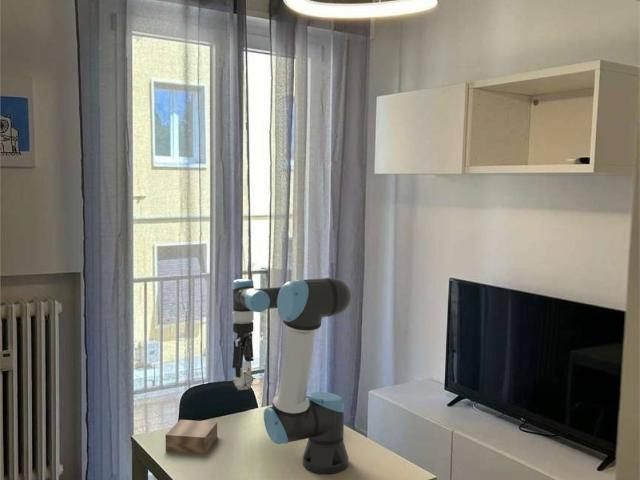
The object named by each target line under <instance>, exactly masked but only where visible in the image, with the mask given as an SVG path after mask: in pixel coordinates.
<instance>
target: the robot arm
mask: <svg viewBox="0 0 640 480" xmlns="http://www.w3.org/2000/svg"><path fill="white" fill-rule="evenodd" d="M254 287H255V286H254V281H253V280H252V279H249V278H248V279H247V278H241V279H235V280H233V282H232V312H231V314H232V321H233V322H232V332H233V333H235V334H237V335H236V338H235V339H236V340H233V342H232V343H233V354H232V365H231V366H232V367H231V368H232V369H234V376H235V384H234V386H235V385H236V386H243V370H248V368H249V372H250V373H251V374H252V362H254V349H253V348H254V347H253V346H254V345H253V335H254V334H253V332H254V319H255V318H254V314H255V313H262V312H264V311H266V310H271V309H272V310H273V309H277V313H278V316H279V318H280V319H281V320H282V323H283V325H284V326H285V327H286V332H285V339H284V341H285V342H284V349H283V357H282V363H281V364H282V365H281V372H280V381H279V388H278V393H277V394H276V395H275V396H274V397H273V399H272V405H271V406H267V407H266V408H265V409H264V411H263V422H264V427H265V430H266V433H267V435H268V437H269V439H270V441H271V442H272V443H274V444H276V445H281V444H289V443H291V442H298V441H303V440H306V439H307V443H306V447H305V449H304V452H303V454H302V466H303V467H304V468H305V469H306V470H308V471H310V472H313V473H316V474H322V475H323V474H324V475H325V474H328V475H329V474H336V473H340V472H342V471H344V470H346V469H347V468H348V466H349V455H348V454H349V453H348V451H347V447H346V445H345V442H344V441H345V440H344V437H345V436H344V435H345V434H344V432H345V431H344V428H345V427H344V426H345V425H344V424H345V403H344V400H343V399H344V398H342V397H341V396H340V395H338V394H335V393H331V392H327V391H313V392H311V393H309V394H308V396H309V397H308V399H309V400H308V399H307V398H306V396H307V391H308V385H309V378H310V370H311V363H312V355H313V347H314V342H315V335H316V331H317V330H319V329H320V328H321V326H322V322H323V321H322V320H323V318H326V317H327V318H328V317H335V316H339V315H341V314H342V313H344V312H346V310H347V309H348V308H349V306H350V305H351V302H352V297H353V296H352V295H353V294H352V290H351V288H350V287H349V285H348V284H347V283H346V282H345V281H343V280H341V279H340V278H336V277H325V278H312V279H302V278H301V279H296V280H290V281H287V282H286V283H284V284H283V285H282V286H278V287H277V286H275V287H274V286H273V287H262V288H254ZM236 386H235V387H236Z"/></svg>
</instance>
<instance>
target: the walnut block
mask: <svg viewBox="0 0 640 480" xmlns="http://www.w3.org/2000/svg"><path fill="white" fill-rule="evenodd" d="M217 438H218V421H208V420H207V421H206V420H192V419H191V420H190V419H179V420H178V421H177V422H176V423H175V424H174V425H173V427H172V428H171V429H170V430H169V431H167V432H166V433H165V452H174V453H175V452H178V453H187V454H189V453H190V454H204V455H205V454H206V453H207V452H208V451H209V449H210V448H211V446H212V445H213V444H214V442H215V441H216V440H217Z"/></svg>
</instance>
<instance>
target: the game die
mask: <svg viewBox="0 0 640 480" xmlns="http://www.w3.org/2000/svg"><path fill="white" fill-rule="evenodd" d="M254 380H256V377H254V376H253V375H252V372H251V373H250V372H249V368H248V370H244V369H243V386H236V385H235V375H234V377H233V380H231V381H230V382H231V383H233V384H234V386H235V388H236V392H237V393H238V392H239V391H243V390H246V391H247V390H249V391H250V392H251V391H252V389H251V387H252V385H253V383H254Z"/></svg>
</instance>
